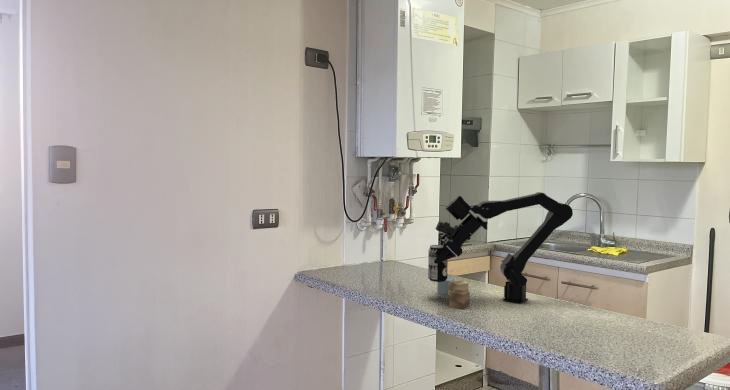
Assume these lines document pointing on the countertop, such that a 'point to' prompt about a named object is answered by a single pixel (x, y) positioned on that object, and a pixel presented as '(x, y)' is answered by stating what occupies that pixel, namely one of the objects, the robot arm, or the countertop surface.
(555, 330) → the countertop surface
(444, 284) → the slate block
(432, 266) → the beverage can
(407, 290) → the countertop surface
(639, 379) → the countertop surface
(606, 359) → the countertop surface
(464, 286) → the oak block
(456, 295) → the walnut block
